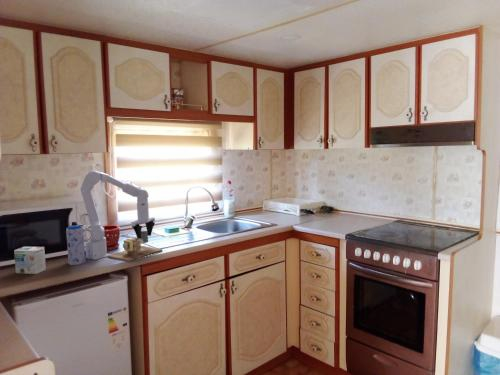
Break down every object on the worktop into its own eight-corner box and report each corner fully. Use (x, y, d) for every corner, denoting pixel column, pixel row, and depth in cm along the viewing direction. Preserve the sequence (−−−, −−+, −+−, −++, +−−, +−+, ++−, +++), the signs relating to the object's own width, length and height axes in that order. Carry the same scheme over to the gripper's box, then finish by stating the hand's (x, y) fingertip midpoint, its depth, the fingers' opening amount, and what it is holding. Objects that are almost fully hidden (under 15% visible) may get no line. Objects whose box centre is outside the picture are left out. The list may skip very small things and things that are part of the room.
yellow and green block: (126, 248, 197) (125, 236, 196) (122, 247, 198) (121, 236, 198) (148, 242, 209) (147, 231, 208) (144, 241, 210) (143, 230, 210)
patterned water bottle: (66, 262, 192) (63, 222, 190) (83, 259, 197) (80, 219, 195) (70, 265, 186) (67, 224, 184) (87, 262, 191) (84, 222, 189)
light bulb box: (15, 273, 177) (13, 250, 176) (26, 268, 183) (24, 246, 182) (36, 274, 175) (34, 250, 174) (46, 269, 182) (44, 246, 180)
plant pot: (95, 247, 220) (93, 226, 218) (119, 244, 224) (118, 224, 223) (95, 253, 208) (93, 230, 206) (121, 250, 212) (119, 228, 211)
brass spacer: (130, 251, 198) (130, 241, 197) (124, 250, 200) (123, 240, 200) (133, 250, 199) (132, 240, 199) (126, 249, 202) (126, 239, 201)
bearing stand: (129, 262, 190) (128, 245, 189) (108, 257, 199) (107, 241, 198) (162, 251, 209) (161, 235, 208) (141, 247, 217) (140, 232, 216)
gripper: (137, 214, 198) (138, 240, 200) (158, 210, 210) (159, 234, 212) (127, 213, 202) (129, 239, 204) (149, 209, 214) (150, 233, 216)
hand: (144, 236), depth 208 cm, fingers open, 6 cm apart
